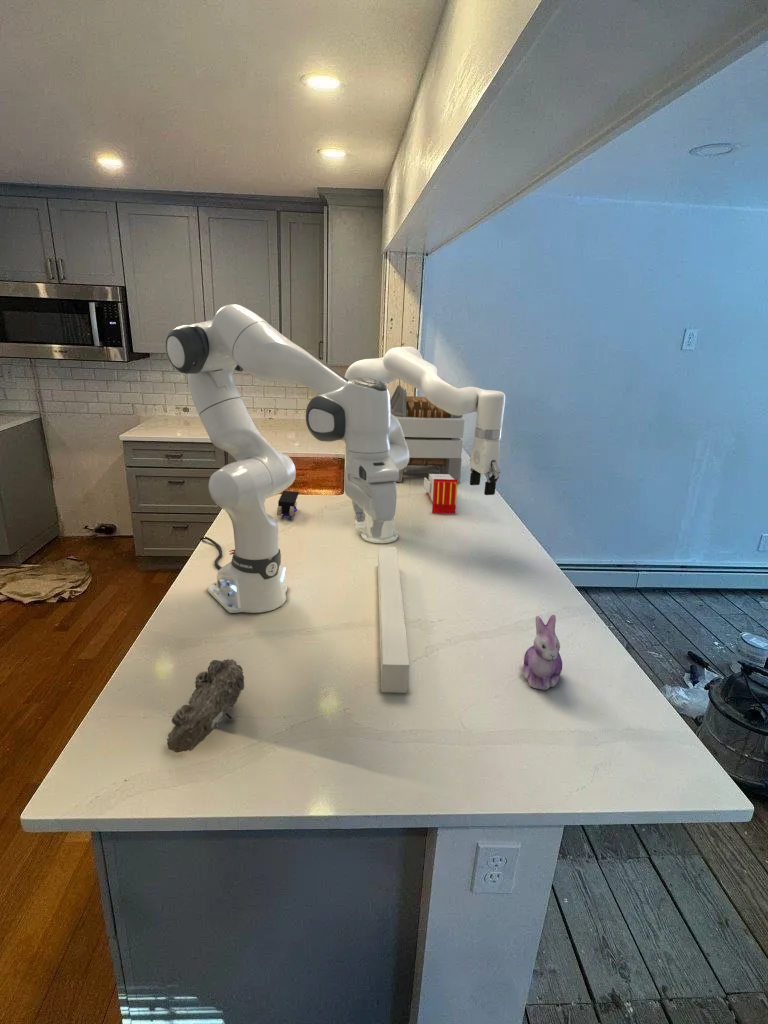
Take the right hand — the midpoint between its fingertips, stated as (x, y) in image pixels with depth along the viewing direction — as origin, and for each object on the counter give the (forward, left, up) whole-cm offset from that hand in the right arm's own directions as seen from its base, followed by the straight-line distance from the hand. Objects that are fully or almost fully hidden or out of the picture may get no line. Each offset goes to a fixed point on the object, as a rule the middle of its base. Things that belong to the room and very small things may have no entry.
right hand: (481, 489), depth 171 cm
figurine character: (-72, +16, -25) cm, 78 cm away
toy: (-22, +54, -25) cm, 64 cm away
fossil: (-37, -89, -24) cm, 100 cm away
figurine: (+23, -55, -25) cm, 64 cm away
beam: (-16, -42, -25) cm, 51 cm away
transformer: (-40, +94, -25) cm, 105 cm away
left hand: (-16, -62, +8) cm, 64 cm away
